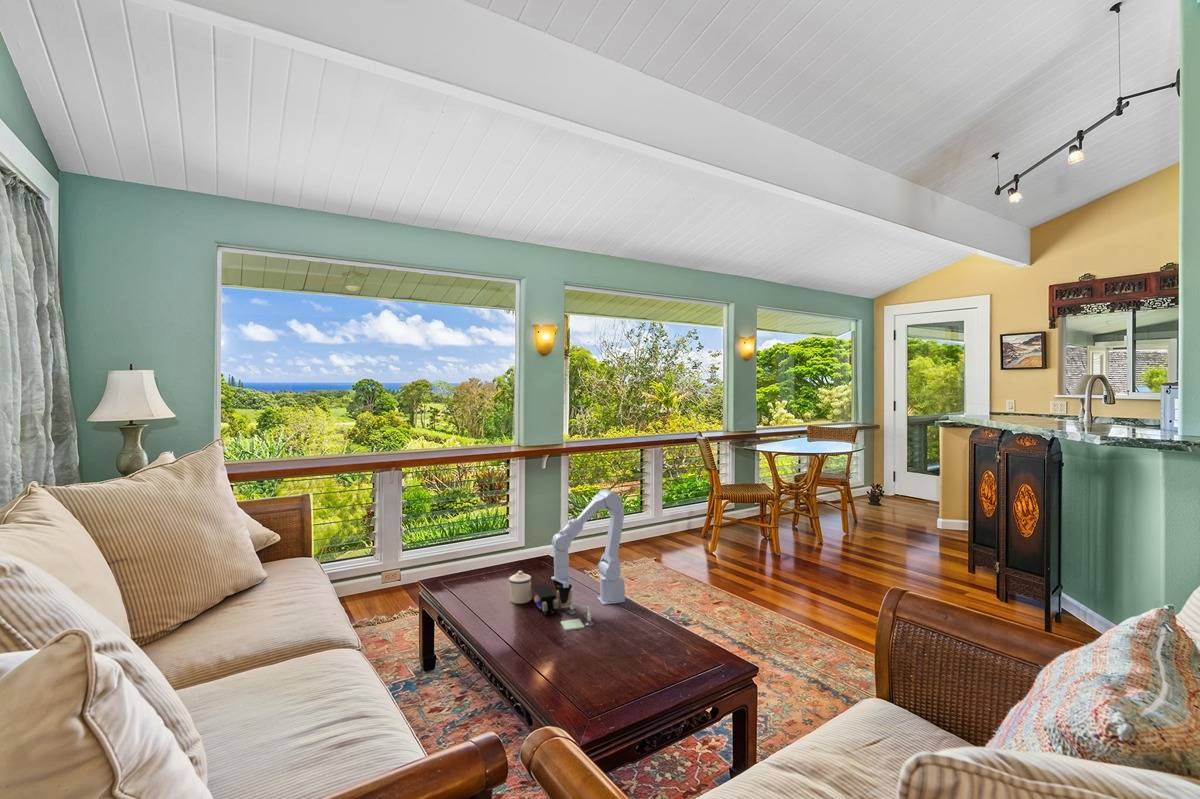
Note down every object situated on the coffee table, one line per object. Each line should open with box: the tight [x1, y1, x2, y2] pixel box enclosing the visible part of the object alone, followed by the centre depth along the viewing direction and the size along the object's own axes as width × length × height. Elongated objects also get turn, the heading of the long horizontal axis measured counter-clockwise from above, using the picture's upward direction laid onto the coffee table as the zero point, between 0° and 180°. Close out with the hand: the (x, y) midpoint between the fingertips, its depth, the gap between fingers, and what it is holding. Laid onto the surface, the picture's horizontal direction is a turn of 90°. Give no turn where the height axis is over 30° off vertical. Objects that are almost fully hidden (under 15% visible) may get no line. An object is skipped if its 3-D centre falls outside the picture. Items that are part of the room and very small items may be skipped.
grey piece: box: [566, 601, 595, 627], centre depth 204 cm, size 8×15×4 cm, turn 17°
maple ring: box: [556, 588, 573, 607], centre depth 213 cm, size 6×6×5 cm
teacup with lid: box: [508, 570, 532, 605], centre depth 224 cm, size 12×9×12 cm
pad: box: [560, 618, 585, 632], centre depth 198 cm, size 7×7×1 cm
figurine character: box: [531, 584, 560, 616], centre depth 213 cm, size 7×8×15 cm
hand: (562, 600), depth 213 cm, fingers closed on maple ring, 6 cm apart
